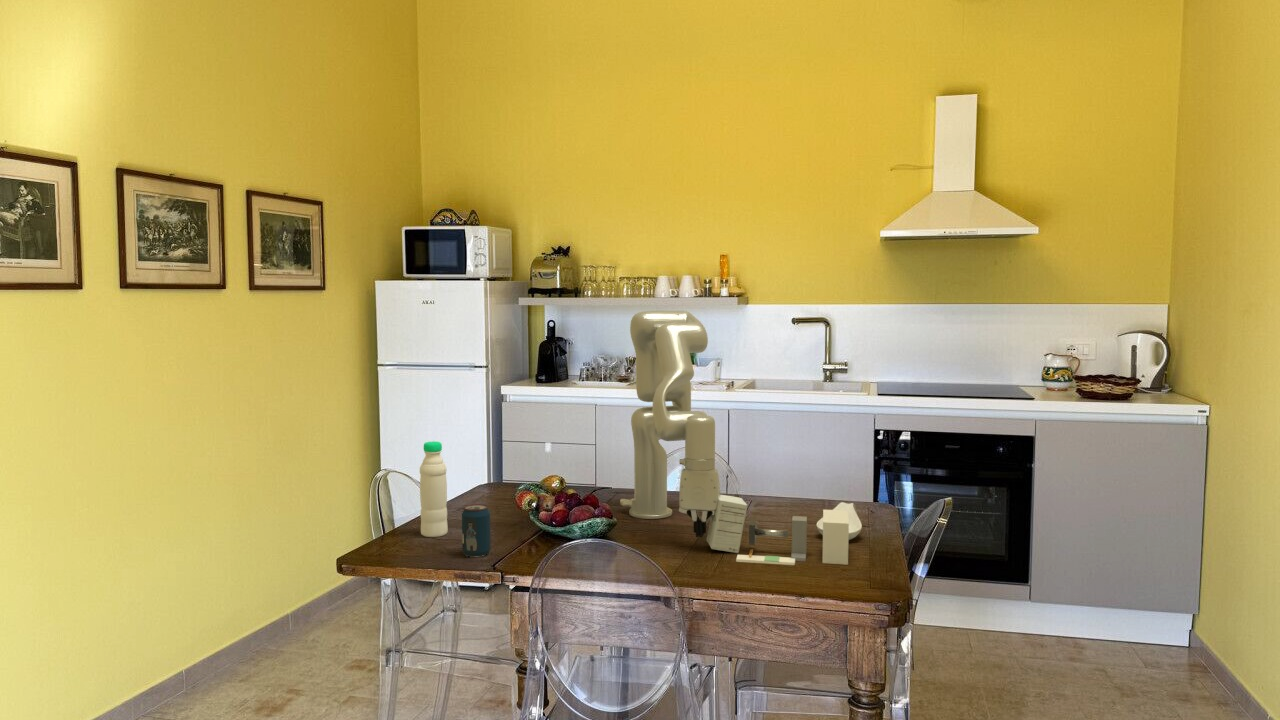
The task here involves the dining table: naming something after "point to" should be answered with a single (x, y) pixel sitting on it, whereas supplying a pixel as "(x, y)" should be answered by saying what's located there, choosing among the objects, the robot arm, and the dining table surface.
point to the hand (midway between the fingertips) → (699, 535)
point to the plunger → (762, 533)
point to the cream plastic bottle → (433, 492)
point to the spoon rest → (853, 520)
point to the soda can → (476, 530)
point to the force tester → (832, 541)
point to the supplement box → (727, 524)
